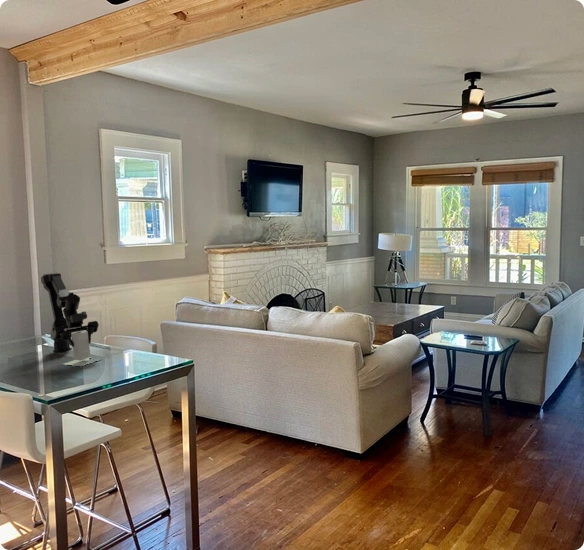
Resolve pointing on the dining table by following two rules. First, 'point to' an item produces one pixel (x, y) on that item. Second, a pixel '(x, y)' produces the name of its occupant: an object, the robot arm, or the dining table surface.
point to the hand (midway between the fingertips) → (81, 344)
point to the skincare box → (80, 345)
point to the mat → (77, 362)
